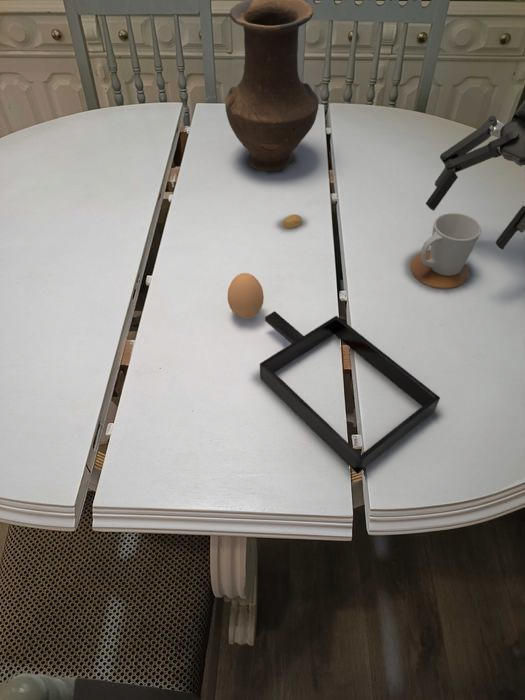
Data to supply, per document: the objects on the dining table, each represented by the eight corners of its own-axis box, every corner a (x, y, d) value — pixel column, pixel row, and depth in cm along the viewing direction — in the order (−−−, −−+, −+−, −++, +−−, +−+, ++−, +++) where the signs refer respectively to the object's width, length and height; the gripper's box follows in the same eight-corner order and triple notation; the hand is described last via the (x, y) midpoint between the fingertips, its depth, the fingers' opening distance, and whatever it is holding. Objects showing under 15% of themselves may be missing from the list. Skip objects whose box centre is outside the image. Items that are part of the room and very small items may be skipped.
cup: (476, 272, 93) (491, 232, 86) (429, 289, 90) (441, 249, 84) (449, 247, 97) (461, 208, 91) (403, 263, 95) (412, 223, 88)
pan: (434, 412, 74) (440, 397, 72) (357, 474, 68) (360, 460, 66) (305, 307, 89) (306, 291, 86) (232, 350, 83) (230, 335, 80)
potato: (304, 224, 104) (304, 216, 102) (286, 230, 102) (286, 222, 101) (297, 217, 105) (298, 209, 104) (280, 223, 104) (280, 215, 103)
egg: (239, 298, 90) (236, 259, 84) (269, 308, 89) (269, 269, 82) (223, 320, 87) (218, 282, 81) (254, 331, 85) (253, 292, 79)
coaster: (480, 272, 93) (480, 270, 93) (443, 297, 89) (444, 295, 89) (435, 245, 99) (435, 243, 98) (398, 267, 95) (398, 265, 94)
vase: (218, 178, 115) (205, 23, 92) (241, 135, 127) (234, -11, 104) (306, 188, 112) (314, 30, 89) (321, 143, 124) (332, -6, 101)
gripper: (632, 147, 77) (535, 270, 82) (487, 91, 90) (411, 200, 95) (632, 122, 71) (527, 257, 76) (477, 66, 84) (396, 184, 89)
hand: (462, 226), depth 86 cm, fingers open, 13 cm apart
